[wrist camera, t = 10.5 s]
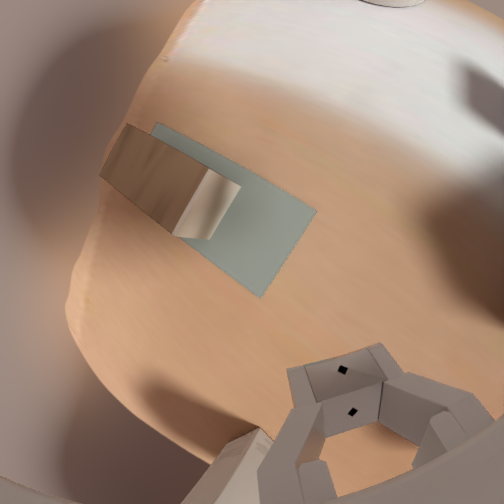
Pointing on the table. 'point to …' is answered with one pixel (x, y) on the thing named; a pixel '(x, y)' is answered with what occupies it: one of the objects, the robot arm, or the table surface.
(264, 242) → the mat
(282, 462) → the robot arm
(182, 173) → the block
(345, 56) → the table surface
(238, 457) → the skincare box
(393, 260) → the table surface
